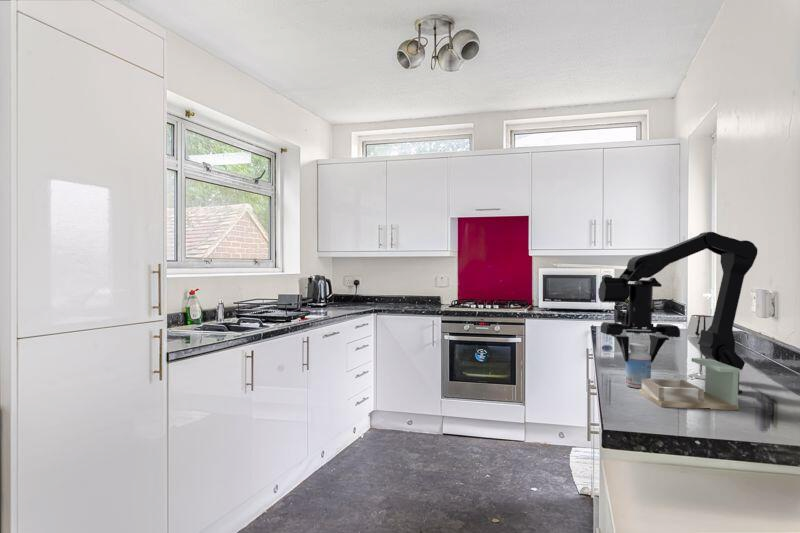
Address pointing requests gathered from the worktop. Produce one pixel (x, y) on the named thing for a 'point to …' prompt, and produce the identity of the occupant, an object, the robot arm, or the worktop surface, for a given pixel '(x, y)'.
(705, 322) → the wineglass
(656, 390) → the socket board
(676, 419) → the worktop surface
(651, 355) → the robot arm
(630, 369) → the pill bottle
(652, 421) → the worktop surface
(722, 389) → the awning
